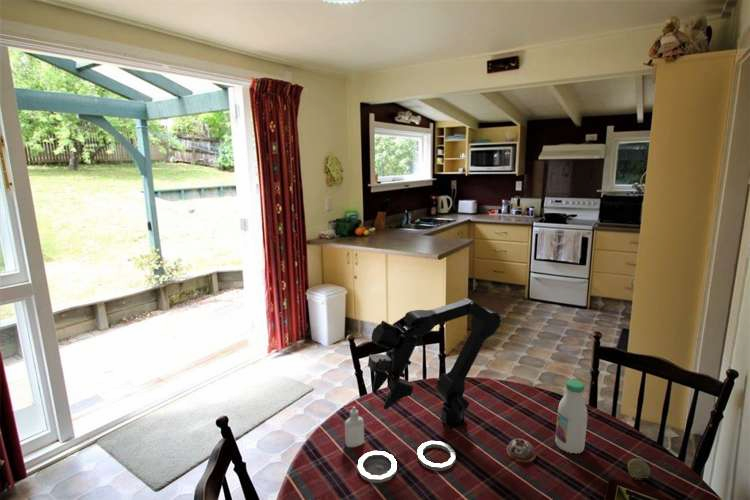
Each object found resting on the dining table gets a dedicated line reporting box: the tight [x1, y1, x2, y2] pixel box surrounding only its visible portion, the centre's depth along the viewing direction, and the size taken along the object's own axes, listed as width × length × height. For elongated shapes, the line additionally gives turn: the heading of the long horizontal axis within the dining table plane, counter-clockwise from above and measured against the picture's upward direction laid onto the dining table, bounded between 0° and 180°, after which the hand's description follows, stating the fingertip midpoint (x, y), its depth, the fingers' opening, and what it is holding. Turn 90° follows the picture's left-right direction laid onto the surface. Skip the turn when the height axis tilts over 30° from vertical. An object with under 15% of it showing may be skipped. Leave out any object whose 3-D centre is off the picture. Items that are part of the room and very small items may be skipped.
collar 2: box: [417, 440, 457, 472], centre depth 113 cm, size 10×10×1 cm
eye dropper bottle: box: [344, 406, 365, 448], centre depth 118 cm, size 4×6×12 cm
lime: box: [627, 457, 651, 480], centre depth 105 cm, size 4×5×5 cm
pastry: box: [506, 437, 537, 464], centre depth 114 cm, size 8×8×5 cm
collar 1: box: [357, 450, 398, 484], centre depth 109 cm, size 10×10×1 cm
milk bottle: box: [554, 379, 588, 455], centre depth 115 cm, size 8×8×20 cm
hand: (379, 400), depth 118 cm, fingers open, 9 cm apart
